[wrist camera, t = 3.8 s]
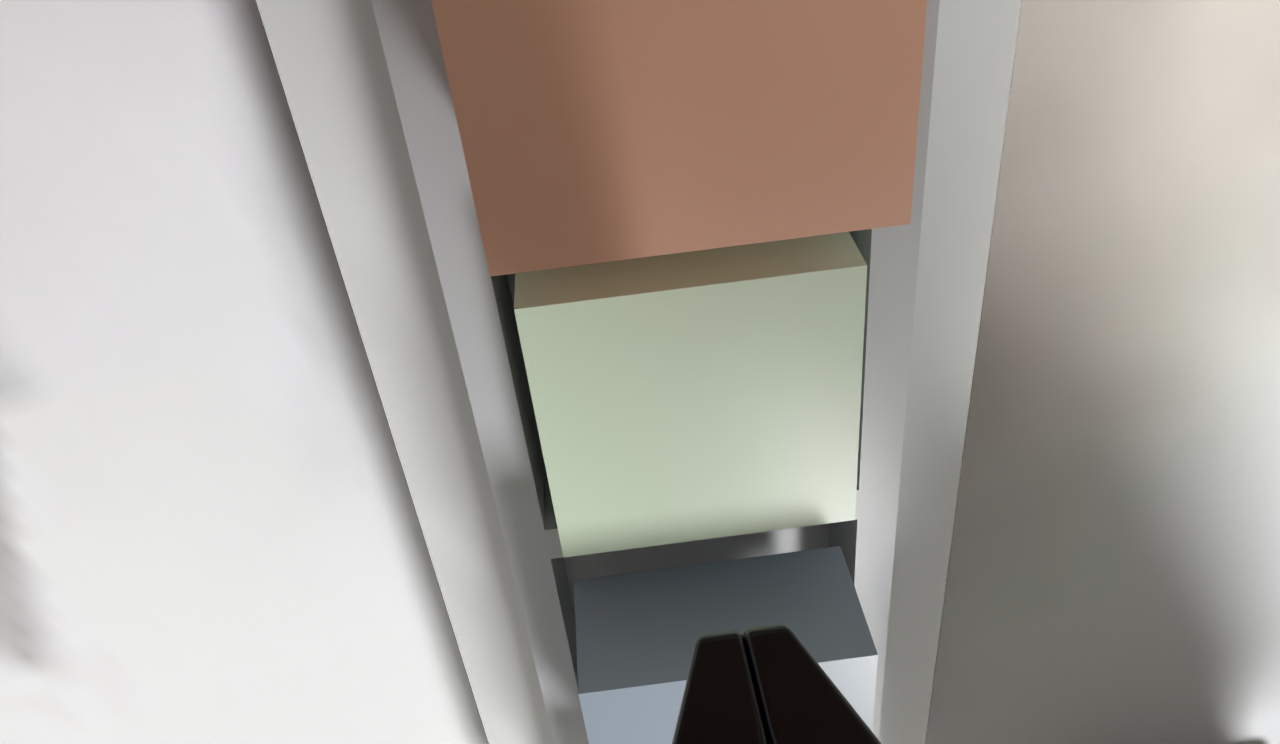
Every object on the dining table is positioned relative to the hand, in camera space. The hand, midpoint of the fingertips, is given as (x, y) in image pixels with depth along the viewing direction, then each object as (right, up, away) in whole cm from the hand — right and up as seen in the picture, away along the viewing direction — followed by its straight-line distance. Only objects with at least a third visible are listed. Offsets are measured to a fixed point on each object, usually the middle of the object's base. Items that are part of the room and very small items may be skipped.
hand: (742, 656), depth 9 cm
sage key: (0, +3, +5) cm, 6 cm away
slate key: (0, -2, +7) cm, 7 cm away
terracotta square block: (-1, +7, +1) cm, 7 cm away
